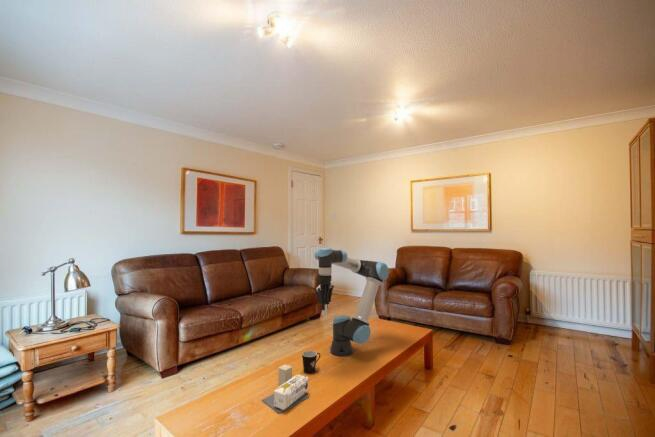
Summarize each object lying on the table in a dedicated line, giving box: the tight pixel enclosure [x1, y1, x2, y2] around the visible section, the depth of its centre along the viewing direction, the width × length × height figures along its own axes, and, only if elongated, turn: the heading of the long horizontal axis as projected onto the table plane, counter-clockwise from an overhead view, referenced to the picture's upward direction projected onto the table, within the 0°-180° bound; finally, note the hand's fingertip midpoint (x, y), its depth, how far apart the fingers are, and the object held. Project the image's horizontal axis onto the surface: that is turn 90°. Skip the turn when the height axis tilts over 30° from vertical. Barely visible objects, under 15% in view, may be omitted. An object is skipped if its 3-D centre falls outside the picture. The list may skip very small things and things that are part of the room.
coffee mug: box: [301, 350, 321, 375], centre depth 173 cm, size 12×9×10 cm
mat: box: [261, 393, 310, 415], centre depth 145 cm, size 18×14×1 cm
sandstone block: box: [277, 364, 293, 387], centre depth 158 cm, size 5×5×9 cm
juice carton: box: [273, 373, 309, 411], centre depth 143 cm, size 8×9×19 cm
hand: (324, 315), depth 172 cm, fingers closed
